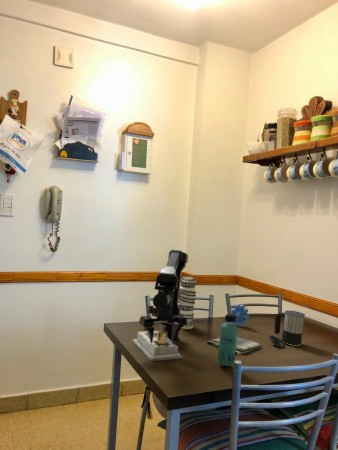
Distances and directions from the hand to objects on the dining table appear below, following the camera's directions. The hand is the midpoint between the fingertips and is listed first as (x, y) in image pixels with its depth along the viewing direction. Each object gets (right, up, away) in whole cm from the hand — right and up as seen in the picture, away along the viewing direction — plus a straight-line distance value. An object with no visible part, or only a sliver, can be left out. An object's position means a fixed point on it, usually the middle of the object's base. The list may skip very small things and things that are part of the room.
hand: (161, 341), depth 154 cm
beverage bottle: (+25, -8, -7) cm, 27 cm away
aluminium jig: (-2, -5, +5) cm, 7 cm away
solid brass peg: (0, -4, 0) cm, 4 cm away
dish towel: (+32, -8, +18) cm, 38 cm away
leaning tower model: (+11, -5, +41) cm, 43 cm away
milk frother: (+58, -9, +26) cm, 64 cm away
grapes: (+41, -7, +50) cm, 65 cm away
